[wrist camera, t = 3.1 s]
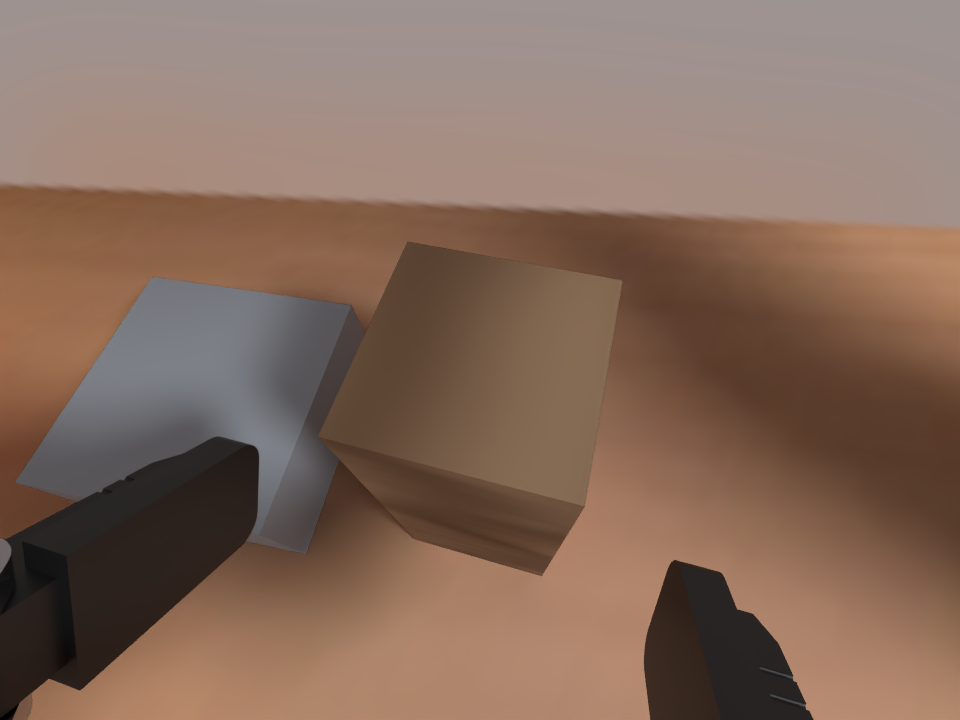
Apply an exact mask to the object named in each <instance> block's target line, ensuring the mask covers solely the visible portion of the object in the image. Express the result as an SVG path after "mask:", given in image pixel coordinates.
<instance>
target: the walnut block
mask: <svg viewBox="0 0 960 720" xmlns="http://www.w3.org/2000/svg"><path fill="white" fill-rule="evenodd" d="M622 282H623V280H618V279H612V278H607V277H601V276H596V275H590V274H585V273H579V272H573V271H568V270H562V269H557V268H551V267H546V266H540V265H535V264H529V263H523V262H518V261H512V260H507V259H501V258H496V257H490V256H485V255H479V254H473V253H468V252H462V251H457V250H451V249H446V248H440V247H435V246H429V245H423V244H418V243H412V242H407V244H406V246H405V248H404V250H403V252H402V255H401V257H400V259H399V261H398V263H397V265H396V268H395V270H394V272H393V274H392V276H391V278H390V281H389V283H388V285H387V287H386V289H385V292H384V294H383V296H382V298H381V300H380V302H379V305H378V307H377V309H376V311H375V313H374V316H373V318H372V320H371V322H370V324H369V326H368V329H367V331H366V333H365V335H364V337H363V339H362V342H361V344H360V346H359V348H358V350H357V353H356V355H355V357H354V359H353V361H352V363H351V366H350V368H349V370H348V372H347V374H346V376H345V379H344V381H343V383H342V385H341V387H340V390H339V392H338V394H337V396H336V398H335V400H334V403H333V405H332V407H331V409H330V411H329V413H328V416H327V418H326V420H325V422H324V424H323V427H322V429H321V431H320V433H319V435H318V437H319V438H320V440H321V441H322V442H323V443H324V444H325V445H326V446H327V447H328V448H329V449H330V450H331V451H332V452H333V453H334V454H335V455H336V457H337V458H338V459H339V460H340V461H341V462H342V463H343V464H344V465H345V466H346V467H347V468H348V469H349V470H350V471H351V472H352V474H353V475H354V476H355V477H356V478H357V479H358V480H359V481H360V482H361V483H362V484H363V485H364V486H365V487H366V488H367V489H368V491H369V492H370V493H371V494H372V495H373V496H374V497H375V498H376V499H377V500H378V501H379V502H380V503H381V504H382V505H383V506H384V508H385V509H386V510H387V511H388V512H389V513H390V514H391V515H392V516H393V517H394V518H395V519H396V520H397V521H398V522H399V523H400V525H401V526H402V527H403V528H404V529H405V530H406V531H407V532H408V533H409V534H410V535H411V536H412V537H413V538H414V539H416V540H419V541H422V542H426V543H429V544H433V545H436V546H440V547H443V548H447V549H450V550H454V551H457V552H460V553H464V554H467V555H471V556H474V557H478V558H481V559H485V560H488V561H491V562H495V563H498V564H502V565H505V566H509V567H512V568H516V569H519V570H523V571H526V572H529V573H533V574H536V575H540V576H542V575H543V573H544V572H545V570H546V568H547V567H548V565H549V563H550V562H551V560H552V559H553V557H554V555H555V554H556V552H557V551H558V549H559V547H560V546H561V544H562V542H563V541H564V539H565V538H566V536H567V534H568V533H569V531H570V530H571V528H572V526H573V525H574V523H575V521H576V520H577V518H578V517H579V515H580V513H581V512H582V510H583V509H584V507H585V502H586V496H587V490H588V484H589V478H590V472H591V466H592V461H593V455H594V449H595V443H596V437H597V431H598V425H599V419H600V413H601V407H602V401H603V395H604V389H605V383H606V377H607V371H608V365H609V359H610V353H611V347H612V341H613V335H614V329H615V323H616V317H617V311H618V305H619V299H620V293H621V288H622Z"/></svg>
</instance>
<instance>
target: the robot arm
mask: <svg viewBox="0 0 960 720" xmlns="http://www.w3.org/2000/svg"><path fill="white" fill-rule="evenodd" d="M258 486H259V452H258V449H257V448H256V447H255V446H253V445H250V444H246V443H243V442H239V441H235V440H232V439H228V438H224V437H220V436H217V437H213V438H211V439H209V440H207V441H205V442H203V443H202V444H200V445H198V446H196V447H194V448H192V449H190V450H189V451H187V452H185V453H183V454H180V455H177V456H173V457H170V458H166V459H163V460H160V461H156V462H153V463H151V464H149V465H147V466H145V467H143V468H141V469H139V470H137V471H135V472H133V473H132V474H130V475H128V476H126V478H125V479H124V480H118V481H116V482H114V483H113V484H111V485H109V486H107V487H105V488H103V490H102V492H101V493H100V492H95V493H93V494H92V495H90V496H88V497H86V498H84V499H82V500H80V501H78V502H76V503H74V504H72V505H71V506H69V507H67V508H65V509H63V510H61V511H59V512H57V513H55V514H53V515H52V516H50V517H48V518H46V519H44V520H42V521H40V522H38V523H36V524H34V525H32V526H31V527H29V528H27V529H25V530H23V531H21V532H19V533H17V534H15V535H13V536H11V537H10V538H8V539H6V540H3V539H1V538H0V720H28V717H29V715H30V712H31V708H32V692H33V691H34V690H36V689H37V688H38V687H39V686H40V685H42V684H43V683H44V682H45V681H47V680H48V679H52V680H54V681H57V682H59V683H62V684H65V685H67V686H70V687H72V688H75V689H77V690H81V689H83V688H84V687H85V686H86V685H87V684H88V683H89V682H90V681H91V680H93V679H94V678H95V677H96V676H97V675H98V674H99V673H100V672H101V671H103V670H104V669H105V668H106V667H107V666H108V665H109V664H110V663H111V662H113V661H114V660H115V659H116V658H117V657H118V656H119V655H120V654H122V653H123V652H124V651H125V650H126V649H127V648H128V647H129V646H130V645H132V644H133V643H134V642H135V641H136V640H137V639H138V638H139V637H140V636H142V635H143V634H144V633H145V632H146V631H147V630H148V629H149V628H150V627H152V626H153V625H154V624H155V623H156V622H157V621H158V620H159V619H161V618H162V617H163V616H164V615H165V614H166V613H167V612H168V611H169V610H171V609H172V608H173V607H174V606H175V605H176V604H177V603H178V602H179V601H181V600H182V599H183V598H184V597H185V596H186V595H187V594H188V593H189V592H191V591H192V590H193V589H194V588H195V587H196V586H197V585H198V584H199V583H201V582H202V581H203V580H204V579H205V578H206V577H207V576H208V575H210V574H211V573H212V572H213V571H214V570H215V569H216V568H217V567H218V566H220V565H221V564H222V563H223V562H224V561H225V560H226V559H227V558H228V557H230V556H231V555H232V554H233V553H234V552H235V551H236V550H237V549H238V548H240V547H241V546H242V545H243V544H244V543H245V541H246V540H247V539H248V537H249V536H250V534H251V532H252V530H253V528H254V525H255V523H256V519H257V513H258ZM644 671H645V679H646V687H647V696H648V704H649V712H650V720H813V718H812V716H811V713H810V711H808V710H806V707H805V706H806V702H805V700H804V698H803V696H802V694H801V692H800V689H799V687H798V685H797V683H796V682H794V681H793V674H792V672H791V670H790V668H789V665H788V663H787V661H786V659H785V657H784V655H783V652H782V650H781V648H780V646H779V644H778V643H777V641H776V640H775V639H774V638H773V637H772V636H771V634H770V633H769V632H768V631H767V630H766V629H765V627H764V626H763V625H762V624H761V623H760V622H759V620H758V619H757V618H756V617H755V616H754V615H753V614H752V613H748V612H744V611H741V610H737V608H736V606H735V603H734V601H733V598H732V596H731V593H730V590H729V588H728V585H727V583H726V580H725V578H724V576H723V575H722V573H720V572H718V571H714V570H710V569H706V568H703V567H699V566H695V565H692V564H688V563H684V562H680V561H677V560H674V561H672V562H671V564H670V566H669V568H668V570H667V573H666V576H665V579H664V582H663V586H662V589H661V592H660V595H659V598H658V601H657V604H656V607H655V610H654V613H653V616H652V619H651V622H650V626H649V629H648V632H647V637H646V643H645V652H644Z"/></svg>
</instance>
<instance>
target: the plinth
mask: <svg viewBox="0 0 960 720" xmlns="http://www.w3.org/2000/svg"><path fill="white" fill-rule="evenodd" d="M364 335H365V334H364V331H363V329H362V327H361V325H360V323H359V320H358V318H357V316H356V314H355V312H354V310H353V307H352V305H347V304H340V303H333V302H326V301H319V300H312V299H305V298H298V297H291V296H284V295H277V294H270V293H263V292H256V291H249V290H242V289H235V288H228V287H221V286H214V285H207V284H200V283H193V282H186V281H179V280H172V279H165V278H158V277H152V278H151V280H150V281H149V283H148V284H147V286H146V287H145V289H144V290H143V292H142V293H141V295H140V296H139V298H138V299H137V301H136V302H135V304H134V305H133V307H132V308H131V310H130V311H129V313H128V314H127V316H126V317H125V319H124V320H123V322H122V323H121V324H120V326H119V327H118V329H117V330H116V332H115V333H114V335H113V336H112V338H111V339H110V341H109V342H108V344H107V345H106V347H105V348H104V350H103V351H102V353H101V354H100V356H99V357H98V359H97V360H96V362H95V363H94V365H93V366H92V368H91V369H90V371H89V372H88V374H87V375H86V377H85V378H84V380H83V381H82V383H81V384H80V386H79V387H78V389H77V390H76V392H75V393H74V395H73V396H72V398H71V399H70V401H69V402H68V404H67V405H66V407H65V408H64V410H63V411H62V413H61V414H60V416H59V417H58V419H57V420H56V422H55V423H54V425H53V426H52V428H51V429H50V431H49V432H48V434H47V435H46V437H45V438H44V440H43V441H42V442H41V444H40V445H39V447H38V448H37V450H36V451H35V453H34V454H33V456H32V457H31V459H30V460H29V462H28V463H27V465H26V466H25V468H24V469H23V471H22V472H21V474H20V475H19V477H18V478H17V480H16V481H15V483H18V484H21V485H25V486H28V487H31V488H34V489H37V490H40V491H44V492H47V493H50V494H53V495H56V496H60V497H63V498H66V499H69V500H72V501H75V502H78V501H80V500H82V499H84V498H86V497H88V496H90V495H92V494H93V493H95V492H100V493H101V492H102V490H103V488H105V487H107V486H109V485H111V484H113V483H114V482H116V481H118V480H124V479H125V478H126V476H128V475H130V474H132V473H133V472H135V471H137V470H139V469H141V468H143V467H145V466H147V465H149V464H151V463H153V462H156V461H160V460H163V459H166V458H170V457H173V456H177V455H180V454H183V453H185V452H187V451H189V450H190V449H192V448H194V447H196V446H198V445H200V444H202V443H203V442H205V441H207V440H209V439H211V438H213V437H217V436H220V437H224V438H228V439H232V440H235V441H239V442H243V443H246V444H250V445H253V446H255V447H256V448H257V449H258V452H259V486H258V513H257V519H256V523H255V525H254V528H253V530H252V532H251V534H250V536H249V537H248V539H247V540H246V541H247V542H251V543H256V544H261V545H265V546H270V547H274V548H279V549H284V550H288V551H293V552H297V553H302V554H306V553H307V550H308V548H309V545H310V542H311V539H312V536H313V533H314V530H315V527H316V525H317V522H318V519H319V516H320V513H321V510H322V507H323V505H324V502H325V499H326V496H327V493H328V490H329V487H330V485H331V482H332V479H333V476H334V473H335V470H336V467H337V465H338V462H339V459H338V458H337V457H336V455H335V454H334V453H333V452H332V451H331V450H330V449H329V448H328V447H327V446H326V445H325V444H324V443H323V442H322V441H321V440H320V438H319V437H318V435H319V433H320V431H321V429H322V427H323V424H324V422H325V420H326V418H327V416H328V413H329V411H330V409H331V407H332V405H333V403H334V400H335V398H336V396H337V394H338V392H339V390H340V387H341V385H342V383H343V381H344V379H345V376H346V374H347V372H348V370H349V368H350V366H351V363H352V361H353V359H354V357H355V355H356V353H357V350H358V348H359V346H360V344H361V342H362V339H363V337H364Z"/></svg>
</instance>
